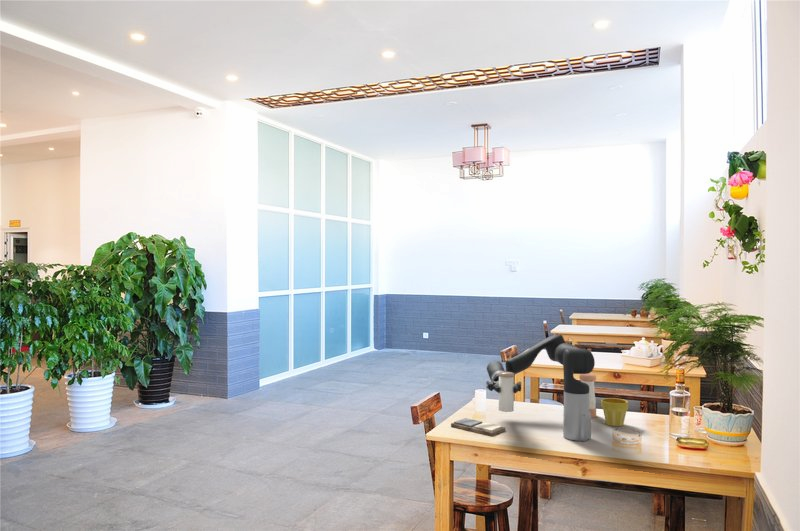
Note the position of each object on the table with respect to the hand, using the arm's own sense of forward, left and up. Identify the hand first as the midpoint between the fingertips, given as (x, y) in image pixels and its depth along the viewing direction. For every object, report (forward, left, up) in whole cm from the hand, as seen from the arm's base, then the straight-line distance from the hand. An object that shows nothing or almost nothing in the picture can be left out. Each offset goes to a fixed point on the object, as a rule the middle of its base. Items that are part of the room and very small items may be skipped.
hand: (507, 390), depth 218 cm
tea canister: (+2, -2, -8) cm, 8 cm away
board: (+15, -3, -18) cm, 23 cm away
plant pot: (-23, -46, -18) cm, 55 cm away
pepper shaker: (-9, -52, -18) cm, 56 cm away
